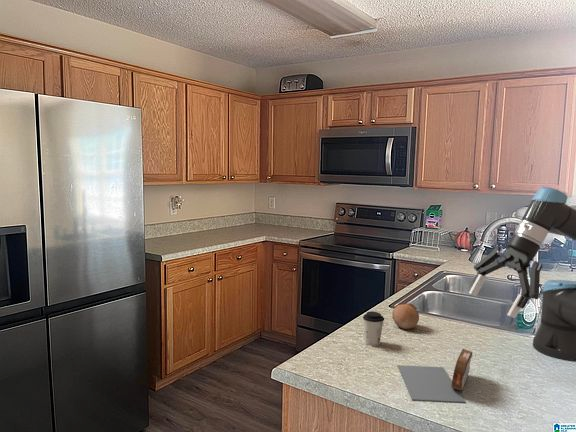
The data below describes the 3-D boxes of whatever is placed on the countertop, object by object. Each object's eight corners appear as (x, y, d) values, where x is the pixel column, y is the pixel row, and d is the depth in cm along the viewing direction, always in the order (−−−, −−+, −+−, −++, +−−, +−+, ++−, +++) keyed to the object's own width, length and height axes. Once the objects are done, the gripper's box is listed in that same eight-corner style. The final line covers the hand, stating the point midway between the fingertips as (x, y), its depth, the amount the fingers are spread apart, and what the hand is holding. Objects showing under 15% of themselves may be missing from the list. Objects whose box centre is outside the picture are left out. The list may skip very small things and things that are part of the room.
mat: (442, 368, 125) (442, 367, 125) (465, 402, 106) (465, 401, 106) (397, 366, 126) (397, 365, 126) (412, 400, 107) (412, 399, 107)
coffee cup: (386, 346, 140) (387, 317, 139) (366, 348, 139) (367, 317, 138) (378, 338, 147) (379, 310, 145) (359, 339, 145) (360, 310, 144)
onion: (410, 333, 160) (420, 308, 162) (415, 335, 151) (426, 309, 152) (386, 322, 162) (396, 297, 163) (390, 323, 153) (400, 297, 154)
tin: (459, 371, 123) (462, 343, 122) (471, 375, 121) (474, 346, 120) (449, 393, 110) (452, 361, 109) (462, 397, 108) (466, 365, 107)
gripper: (484, 222, 130) (450, 283, 132) (562, 250, 108) (521, 323, 110) (498, 230, 134) (465, 290, 135) (577, 259, 112) (537, 330, 114)
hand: (490, 305), depth 123 cm, fingers open, 13 cm apart
